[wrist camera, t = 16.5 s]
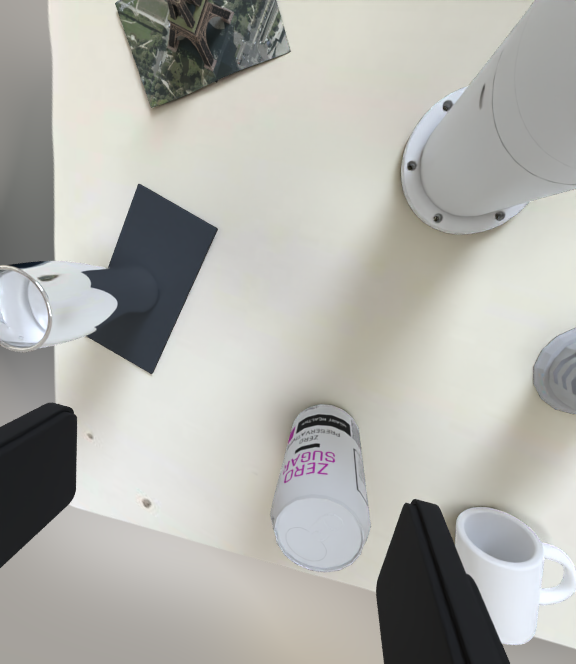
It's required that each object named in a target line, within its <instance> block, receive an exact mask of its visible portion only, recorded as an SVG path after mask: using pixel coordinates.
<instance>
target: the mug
mask: <svg viewBox="0 0 576 664" xmlns="http://www.w3.org/2000/svg"><path fill="white" fill-rule="evenodd" d="M455 547H456V549H457V552H458V554H459V557H460V559H461V562H462V564H463V567H464V569H465V572H466V574H469V575H470V576H471V577H472V578H473V579H474V581H475V583H476V585H477V586H478V589H479V591H480V593H481V596H482V598H483V600H484V603H485V605H486V608H487V610H488V612H489V615H490V617H491V619H492V622H493V624H494V626H495V629H496V631H497V634H498V636H499V638H500V641H501V643H503V644H509V645H520V644H523V643H526V642H528V641H529V640H530V639H531V638H532V637H533V636H534V634H535V631H536V626H537V617H538V609H539V605H551V604H556V603H559V602H562V601H564V600H566V599H568V598H569V597H570V596H572V595H573V593H574V592H575V591H576V569H575V566H574V564H573V562H572V561H571V559H570V558H569V557H568V555H567V554H566V553H565V552H564V551H562V550H561V549H559V548H558V547H556V546H553V545H551V544H548V543H544V542H541V540H540V539H539V537H538V536H537V535H536V533H535V532H534V531H533V530H532V529H531V528H530V527H529V526H527V525H526V524H525V523H524V522H522V521H521V520H519V519H518V518H516V517H514V516H512V515H510V514H508V513H506V512H503V511H500V510H497V509H493V508H488V507H474V508H469V509H467V510H465V511H463V512H462V513H461V514H460V515H459V516H458V518H457V521H456V540H455ZM544 559H549V560H553V561H555V562H558V563H560V564H561V565H562V566H563V568H564V574H563V579H562V581H561V583H560V584H559V585H557V586H555V587H552V588H541V583H542V575H543V566H544Z"/></svg>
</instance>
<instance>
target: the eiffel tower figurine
mask: <svg viewBox="0 0 576 664" xmlns="http://www.w3.org/2000/svg"><path fill="white" fill-rule="evenodd" d="M115 5H116V7H117V10H118V13H119V16H120V19H121V22H122V25H123V28H124V31H125V34H126V36H127V39H128V42H129V45H130V48H131V51H132V54H133V57H134V59H135V62H136V65H137V68H138V71H139V74H140V77H141V80H142V82H143V85H144V88H145V91H146V94H147V97H148V100H149V103H150V106H151V108H152V107H155V106H158V105H161V104H164V103H167V102H170V101H173V100H175V99H178V98H180V97H183V96H185V95H188V94H190V93H192V92H194V91H196V90H198V89H200V88H202V87H204V86H206V85H208V84H210V83H212V82H214V81H215V82H217V81H218V80H219V79H221V78H223V77H225V76H228V75H230V74H232V73H235V72H237V71H240V70H242V69H245V68H247V67H250V66H253V65H256V64H258V63H261V62H264V61H267V60H270V59H272V58H275V57H278V56H280V55H283V54H286V53H288V52H291V51H290V47H289V44H288V40H287V37H286V33H285V30H284V26H283V22H282V19H281V15H280V12H279V8H278V5H277V1H276V0H119V1H117V2H116V3H115Z"/></svg>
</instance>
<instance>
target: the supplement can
mask: <svg viewBox="0 0 576 664" xmlns="http://www.w3.org/2000/svg"><path fill="white" fill-rule="evenodd" d="M270 516H271V520H272V525H273V529H274V532H275V537H276V542H277V544H278V546H279V547H280V549H281V550H282V552H283V553H284V555H285V556H287V557H288V558H289V559H290V560H291V561H293V562H294V563H295V564H297V565H299V566H301V567H304V568H306V569H308V570H312V571H319V572H331V571H339V570H341V569H343V568H345V567H347V566H349V565H351V564H353V563H354V561H355V560H356V559H357V558H358V557H359V556H360V555H361V552H362V549H363V546H364V544H365V543H366V541H367V538H368V535H369V531H370V528H371V523H370V515H369V507H368V499H367V491H366V483H365V475H364V467H363V459H362V451H361V443H360V436H359V428H358V426H357V424H356V423H355V421H354V419H353V418H352V417H351V416H350V415H349V414H348V413H347V412H346V411H344V410H343V409H340V408H338V407H335V406H333V405H322V404H320V405H316V406H312V407H308V408H307V409H305V410H304V411H302V412H301V413H300V414H299V415H298V416H297V418H296V419H295V421H294V422H293V426H292V429H291V433H290V437H289V441H288V445H287V449H286V452H285V456H284V460H283V464H282V468H281V472H280V475H279V479H278V483H277V487H276V491H275V495H274V499H273V503H272V508H271V513H270Z"/></svg>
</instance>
